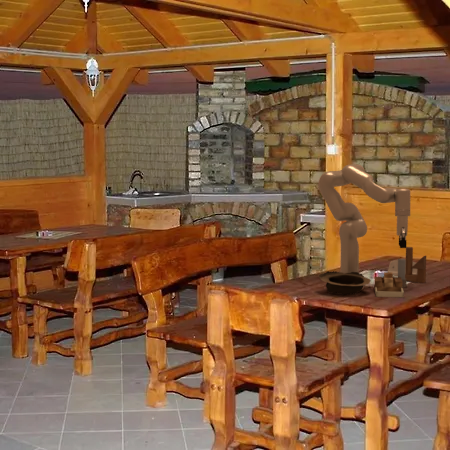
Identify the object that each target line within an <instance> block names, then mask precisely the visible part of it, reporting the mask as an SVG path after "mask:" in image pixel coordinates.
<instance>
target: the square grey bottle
mask: <svg viewBox="0 0 450 450" xmlns="http://www.w3.org/2000/svg"><path fill="white" fill-rule="evenodd" d="M397 260H398V276H397V277H401V279H402V288H407V281H406V279H405V260H406V258H397Z"/></svg>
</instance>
